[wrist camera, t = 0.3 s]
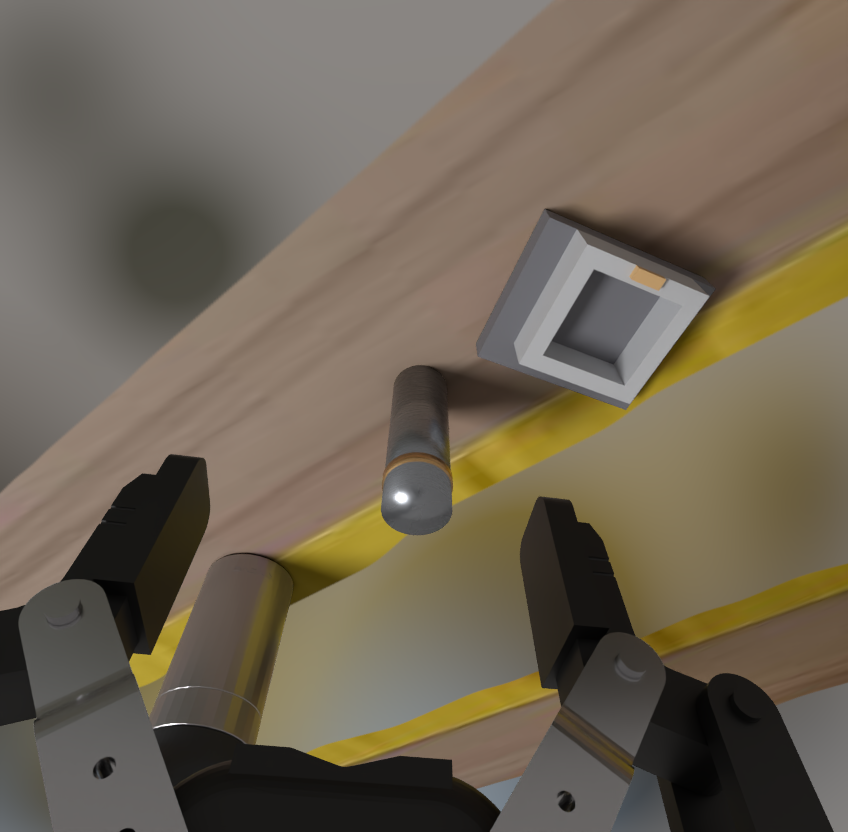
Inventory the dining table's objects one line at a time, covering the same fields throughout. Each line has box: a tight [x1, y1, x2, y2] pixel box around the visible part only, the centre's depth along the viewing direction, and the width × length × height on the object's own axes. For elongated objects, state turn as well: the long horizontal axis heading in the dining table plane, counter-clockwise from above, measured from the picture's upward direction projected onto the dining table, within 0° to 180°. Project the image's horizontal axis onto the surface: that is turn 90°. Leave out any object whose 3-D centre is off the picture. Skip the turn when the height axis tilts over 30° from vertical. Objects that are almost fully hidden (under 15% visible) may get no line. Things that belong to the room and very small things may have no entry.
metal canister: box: [381, 366, 453, 535], centre depth 40 cm, size 5×5×14 cm
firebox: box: [476, 209, 716, 410], centre depth 39 cm, size 11×13×6 cm
